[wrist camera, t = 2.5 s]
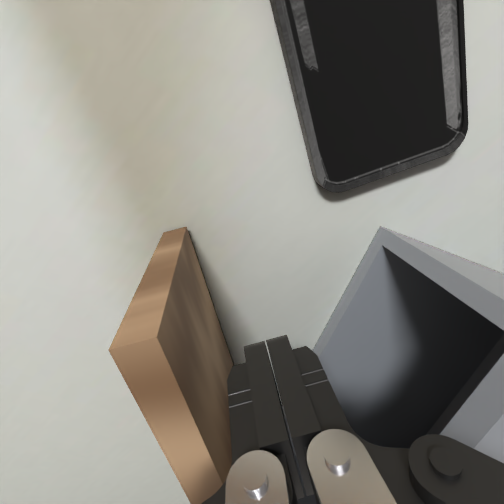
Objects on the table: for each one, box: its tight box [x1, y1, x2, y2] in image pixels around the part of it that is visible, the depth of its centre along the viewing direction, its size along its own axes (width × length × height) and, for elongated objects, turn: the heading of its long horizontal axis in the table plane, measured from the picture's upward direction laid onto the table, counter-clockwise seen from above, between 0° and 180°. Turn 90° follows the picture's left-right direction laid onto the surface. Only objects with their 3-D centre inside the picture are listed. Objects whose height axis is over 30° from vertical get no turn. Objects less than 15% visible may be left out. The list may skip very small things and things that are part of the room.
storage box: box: [282, 226, 504, 504], centre depth 17 cm, size 12×18×10 cm, turn 158°
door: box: [109, 227, 234, 504], centre depth 15 cm, size 16×2×9 cm, turn 13°
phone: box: [270, 0, 468, 192], centre depth 13 cm, size 8×1×15 cm
